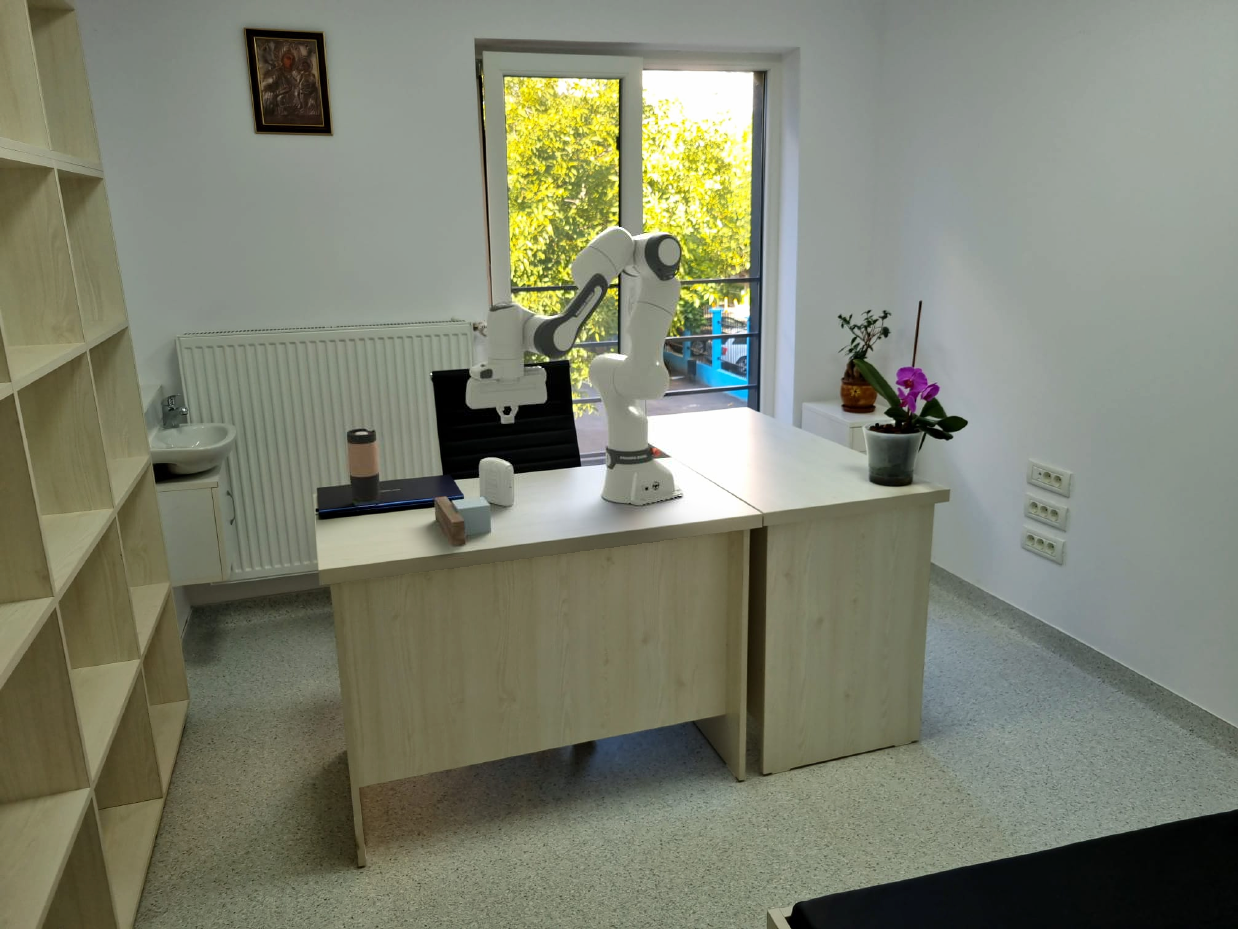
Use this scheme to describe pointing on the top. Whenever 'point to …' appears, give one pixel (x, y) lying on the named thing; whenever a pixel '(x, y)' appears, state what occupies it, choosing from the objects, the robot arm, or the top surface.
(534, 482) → the top surface
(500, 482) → the photo printer
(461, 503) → the slate block
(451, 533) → the stop board
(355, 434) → the travel mug
